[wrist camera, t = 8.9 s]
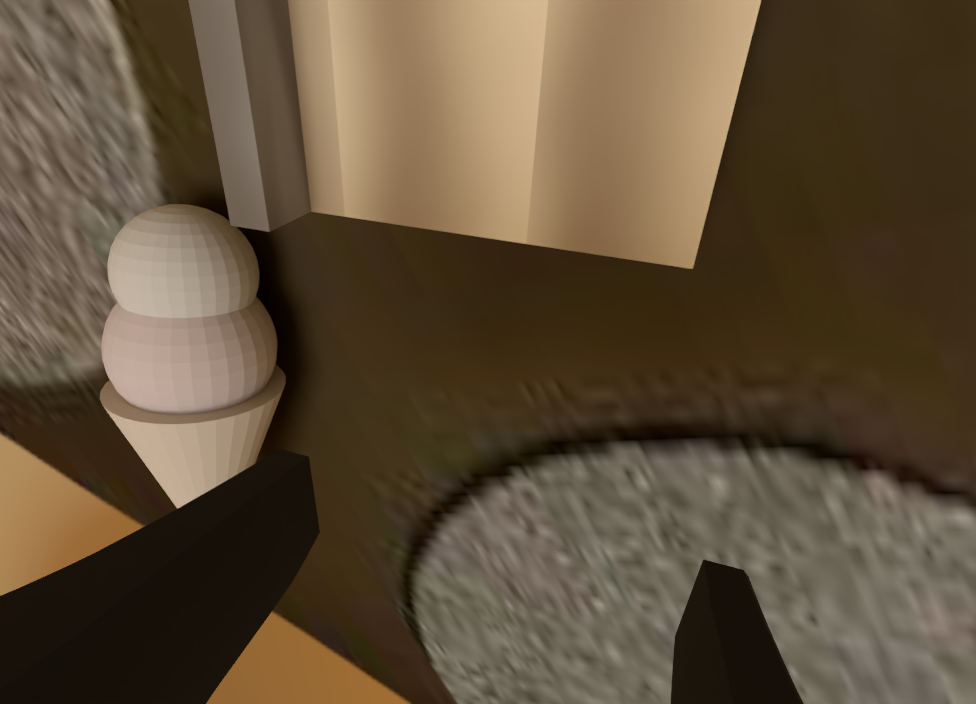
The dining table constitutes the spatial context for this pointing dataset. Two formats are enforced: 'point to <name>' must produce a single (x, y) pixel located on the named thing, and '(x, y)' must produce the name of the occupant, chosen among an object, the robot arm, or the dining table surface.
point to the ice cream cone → (189, 348)
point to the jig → (478, 115)
